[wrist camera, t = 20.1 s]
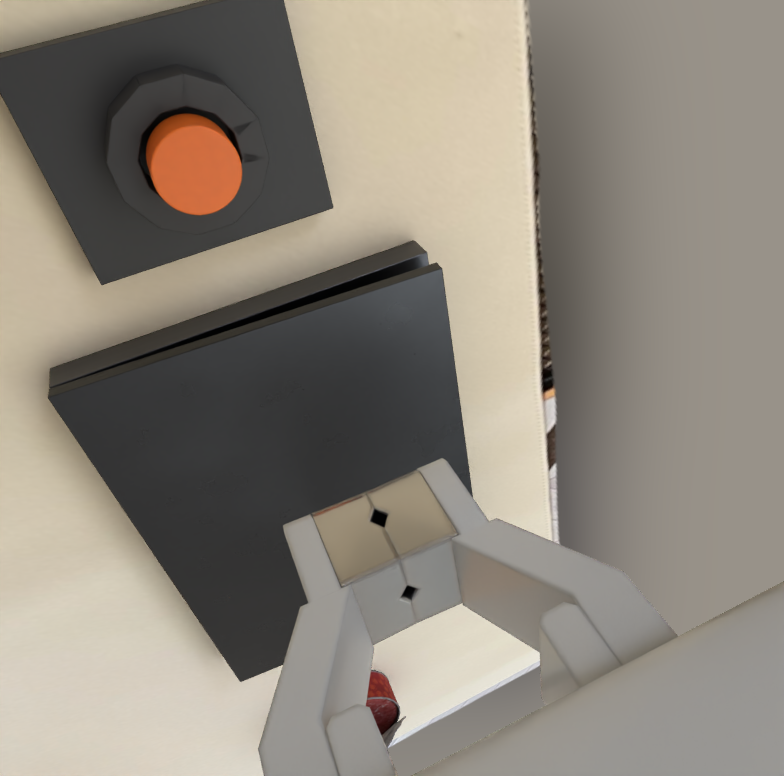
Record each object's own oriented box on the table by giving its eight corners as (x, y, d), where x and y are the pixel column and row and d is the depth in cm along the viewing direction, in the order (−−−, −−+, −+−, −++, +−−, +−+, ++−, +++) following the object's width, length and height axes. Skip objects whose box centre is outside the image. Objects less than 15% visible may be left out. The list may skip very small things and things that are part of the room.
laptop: (414, 240, 38) (428, 252, 36) (463, 547, 57) (473, 563, 55) (49, 368, 34) (48, 388, 32) (234, 652, 53) (239, 673, 51)
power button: (165, 209, 29) (171, 227, 27) (131, 127, 26) (135, 141, 25) (243, 184, 29) (253, 200, 28) (216, 102, 27) (226, 114, 25)
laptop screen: (436, 261, 36) (442, 268, 35) (479, 574, 55) (484, 582, 54) (48, 387, 32) (47, 397, 32) (238, 672, 52) (240, 682, 51)
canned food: (357, 628, 66) (437, 687, 60) (351, 695, 70) (424, 755, 65) (272, 701, 58) (355, 776, 52) (271, 770, 62) (348, 846, 57)
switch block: (100, 274, 32) (103, 306, 30) (-14, 56, 26) (-23, 72, 23) (326, 200, 34) (347, 223, 32) (272, -17, 28) (294, -10, 25)
